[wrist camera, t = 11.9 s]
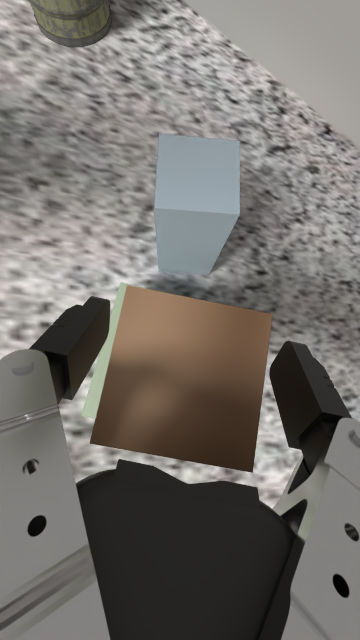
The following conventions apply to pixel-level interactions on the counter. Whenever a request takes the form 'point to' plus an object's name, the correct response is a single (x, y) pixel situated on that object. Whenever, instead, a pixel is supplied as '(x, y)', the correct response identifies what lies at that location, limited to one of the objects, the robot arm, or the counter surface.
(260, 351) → the walnut block
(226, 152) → the slate block
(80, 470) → the counter surface
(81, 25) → the thermos
